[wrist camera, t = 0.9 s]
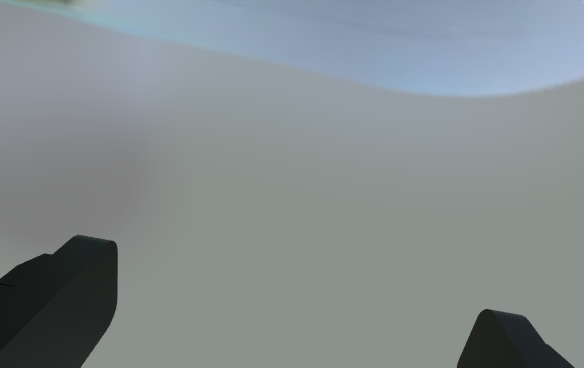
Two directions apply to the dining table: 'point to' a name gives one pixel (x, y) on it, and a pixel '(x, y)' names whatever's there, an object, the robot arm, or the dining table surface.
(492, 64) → the dining table surface
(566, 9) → the dining table surface
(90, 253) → the robot arm
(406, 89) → the dining table surface
